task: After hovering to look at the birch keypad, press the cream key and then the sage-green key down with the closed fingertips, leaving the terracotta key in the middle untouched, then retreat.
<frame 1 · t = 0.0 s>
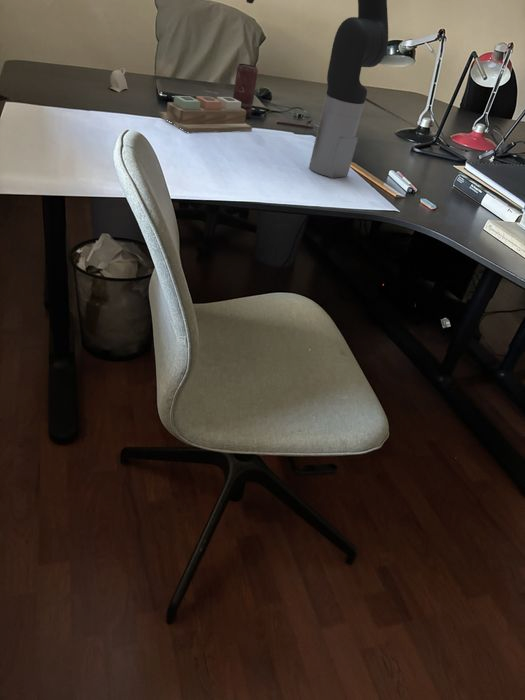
hand: (237, 0, 139), 29 cm above the table, fingers open, 8 cm apart
terracotta key: (208, 103, 143), point 5 cm above the table, slide at 0.0 cm
cream key: (228, 103, 147), point 5 cm above the table, slide at 0.0 cm
keypad board: (206, 123, 146), on the table
sage key: (187, 103, 139), point 5 cm above the table, slide at 0.0 cm
can: (240, 116, 161), on the table
decorative ornament: (119, 90, 159), on the table
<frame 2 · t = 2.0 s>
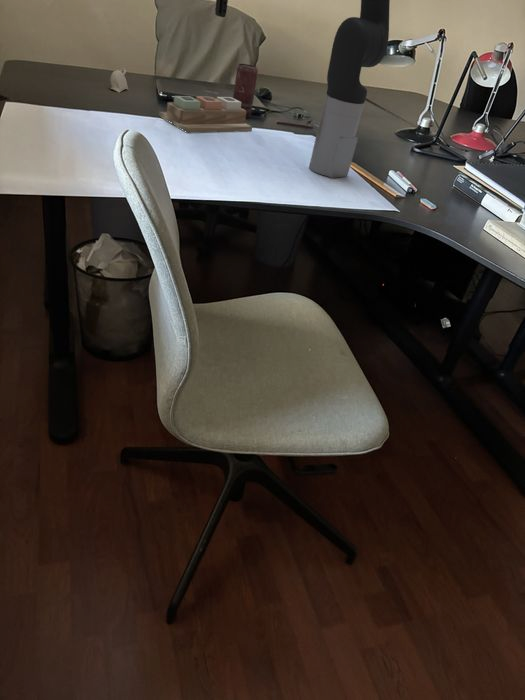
hand: (220, 16, 131), 26 cm above the table, fingers closed
nothing on the table moved.
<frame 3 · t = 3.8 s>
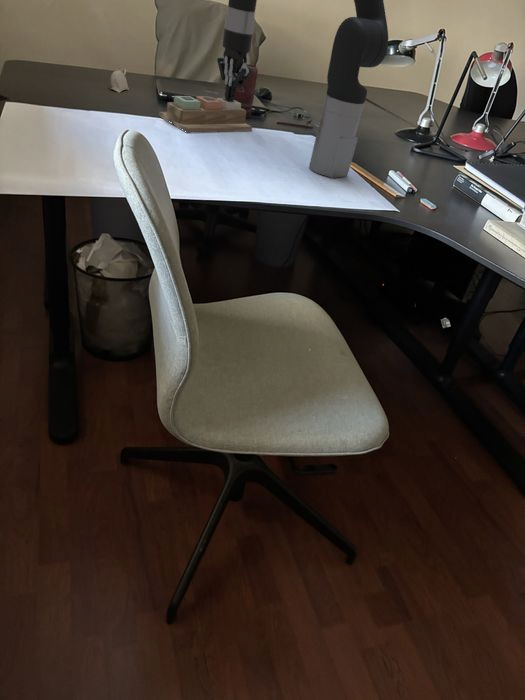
hand: (229, 99, 146), 6 cm above the table, fingers closed
cream key: (228, 105, 147), point 5 cm above the table, slide at 0.4 cm, touching gripper
everything else where it was.
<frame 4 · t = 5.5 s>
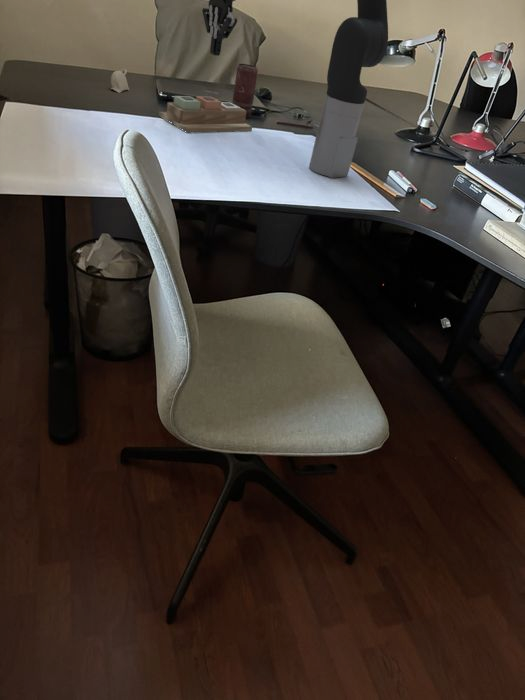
hand: (214, 54, 136), 17 cm above the table, fingers closed
cream key: (227, 109, 148), point 4 cm above the table, slide at 1.5 cm
everything else where it was.
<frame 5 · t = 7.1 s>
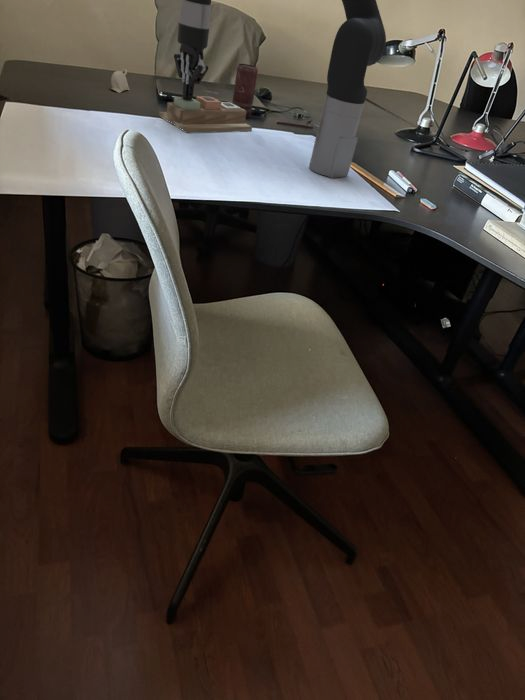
hand: (187, 98, 138), 6 cm above the table, fingers closed
sage key: (186, 104, 139), point 5 cm above the table, slide at 0.3 cm, touching gripper
everything else where it was.
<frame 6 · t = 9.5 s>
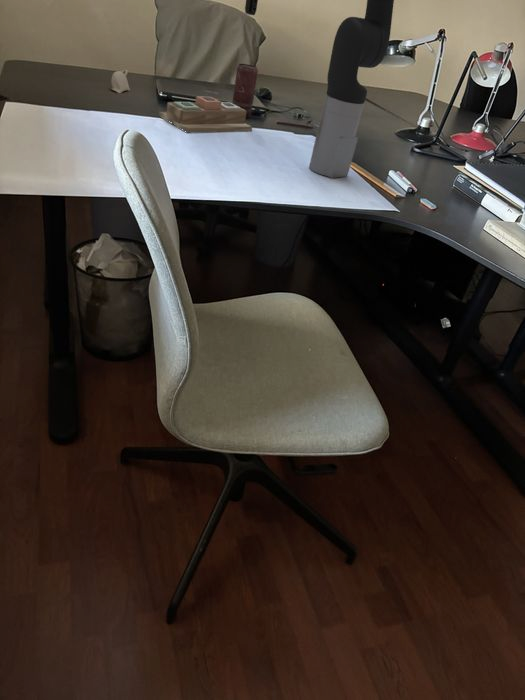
hand: (249, 14, 132), 28 cm above the table, fingers closed
sage key: (186, 109, 139), point 4 cm above the table, slide at 1.4 cm
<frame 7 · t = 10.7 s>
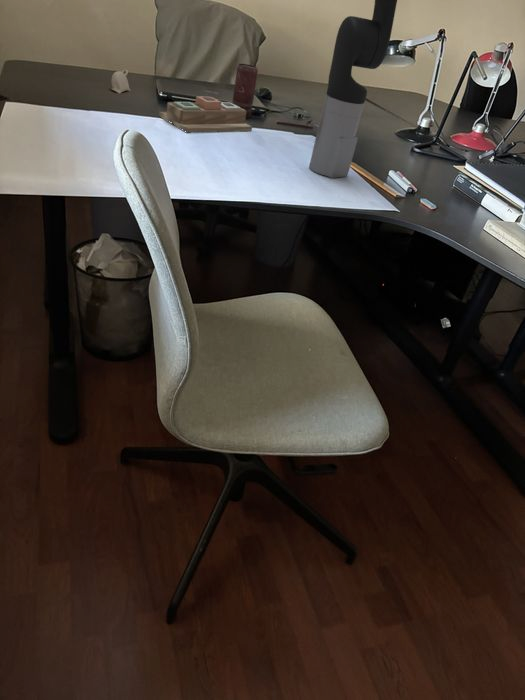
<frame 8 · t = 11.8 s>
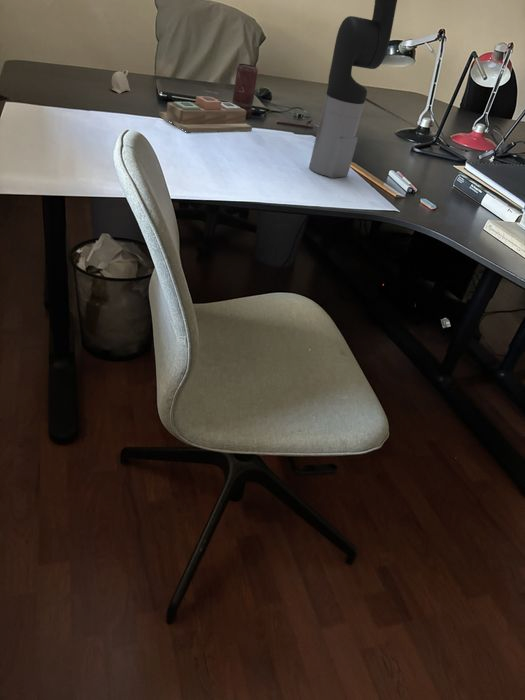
at the end: cream key slide at 1.5 cm; sage key slide at 1.4 cm; terracotta key slide at 0.0 cm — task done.
